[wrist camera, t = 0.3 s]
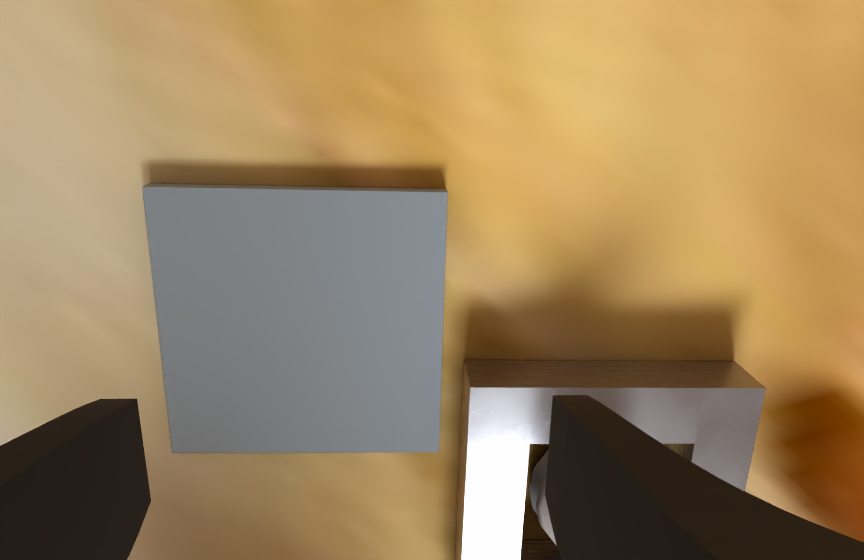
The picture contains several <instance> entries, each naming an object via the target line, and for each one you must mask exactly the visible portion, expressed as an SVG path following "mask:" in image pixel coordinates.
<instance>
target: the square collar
mask: <svg viewBox="0 0 864 560" xmlns="http://www.w3.org/2000/svg"><path fill="white" fill-rule="evenodd" d="M765 390H766V388H765V387H764V386H763V385H762V384H761V383H759V382H758V381H757V380H756V379H755V378H754V377H752V376H751V375H750V374H749V373H748V372H747V371H745V370H744V369H743V368H742V367H741V366H740V365H738V364H737V363H736V362H735V361H579V360H464V374H463V396H462V418H461V440H460V462H459V484H458V506H457V528H456V550H455V560H562V559H561V556H560V553H559V551H558V548H557V546H556V544H555V543H554V542H553V541H552V540H522V530H523V518H524V506H525V495H526V483H527V471H528V459H529V447H530V444H549V436H550V423H551V411H552V398H553V395H588V396H590V397H592V398H594V399H595V400H597V401H599V402H600V403H602V404H603V405H605V406H606V407H608V408H609V409H611V410H612V411H614V412H615V413H617V414H618V415H620V416H621V417H623V418H624V419H626V420H627V421H629V422H630V423H632V424H633V425H635V426H636V427H638V428H639V429H641V430H642V431H644V432H645V433H646V434H648V435H650V436H651V437H653V438H654V439H656V440H657V441H659V442H660V443H662V444H665V446H666V447H668V448H670V449H671V450H673V451H674V452H676V453H678V454H679V455H681V456H682V457H684V458H686V459H687V460H689V461H691V462H692V463H694V464H696V465H698V466H699V467H701V468H703V469H704V470H706V471H708V472H710V473H711V474H713V475H715V476H717V477H718V478H720V479H722V480H724V481H726V482H727V483H729V484H731V485H733V486H735V487H737V488H739V489H741V490H743V491H745V487H746V482H747V478H748V473H749V468H750V463H751V458H752V453H753V448H754V444H755V439H756V434H757V429H758V424H759V419H760V415H761V410H762V405H763V400H764V395H765Z"/></svg>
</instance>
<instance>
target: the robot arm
mask: <svg viewBox="0 0 864 560" xmlns="http://www.w3.org/2000/svg"><path fill="white" fill-rule="evenodd" d="M545 498H546V502H547V507H548V511H549V516H550V520H551V525H552V529H553V533H554V537H555V541H556V545H557V548H558V551H559V553H560V556H561V559H562V560H864V542H861V541H858V540H855V539H853V538H850V537H848V536H845V535H843V534H840V533H838V532H835V531H833V530H830V529H828V528H825V527H823V526H820V525H818V524H815V523H812V522H810V521H807V520H805V519H803V518H800V517H798V516H796V515H794V514H791V513H789V512H787V511H784V510H782V509H780V508H778V507H776V506H774V505H772V504H770V503H768V502H766V501H763V500H761V499H759V498H757V497H755V496H753V495H751V494H749V493H747V492H745V491H743V490H741V489H739V488H737V487H735V486H733V485H731V484H729V483H727V482H726V481H724V480H722V479H720V478H718V477H717V476H715V475H713V474H711V473H710V472H708V471H706V470H704V469H703V468H701V467H699V466H698V465H696V464H694V463H692V462H691V461H689V460H687V459H686V458H684V457H682V456H681V455H679V454H678V453H676V452H674V451H673V450H671V449H670V448H668V447H666V446H665V445H663V444H662V443H660V442H659V441H657V440H656V439H654V438H653V437H651V436H650V435H648V434H646V433H645V432H644V431H642V430H641V429H639V428H638V427H636V426H635V425H633V424H632V423H630V422H629V421H627V420H626V419H624V418H623V417H621V416H620V415H618V414H617V413H615V412H614V411H612V410H611V409H609V408H608V407H606V406H605V405H603V404H602V403H600V402H599V401H597V400H595V399H594V398H592V397H590V396H588V395H553V398H552V411H551V423H550V436H549V448H548V460H547V473H546V485H545ZM150 502H151V498H150V491H149V483H148V476H147V469H146V462H145V454H144V447H143V440H142V432H141V425H140V418H139V411H138V403H137V399H100V400H97V401H94V402H91V403H88V404H86V405H83V406H81V407H79V408H77V409H74V410H72V411H70V412H68V413H66V414H64V415H62V416H60V417H58V418H55V419H53V420H51V421H49V422H47V423H45V424H43V425H41V426H39V427H37V428H35V429H33V430H31V431H29V432H27V433H25V434H23V435H21V436H19V437H17V438H15V439H13V440H11V441H9V442H7V443H5V444H3V445H1V446H0V560H127V558H128V556H129V555H130V552H131V550H132V548H133V545H134V543H135V540H136V538H137V536H138V533H139V531H140V528H141V526H142V523H143V520H144V518H145V515H146V513H147V510H148V507H149V505H150Z"/></svg>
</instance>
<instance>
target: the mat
mask: <svg viewBox="0 0 864 560" xmlns="http://www.w3.org/2000/svg"><path fill="white" fill-rule="evenodd" d="M142 189H143V198H144V207H145V216H146V225H147V234H148V243H149V252H150V261H151V270H152V278H153V287H154V296H155V305H156V314H157V323H158V332H159V341H160V350H161V358H162V367H163V376H164V385H165V394H166V403H167V412H168V421H169V430H170V438H171V447H172V453H366V452H439V431H440V402H441V373H442V343H443V314H444V284H445V255H446V226H447V196H448V192H447V190H446V189H419V188H364V187H310V186H256V185H201V184H148V185H145V186H143V187H142Z"/></svg>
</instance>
